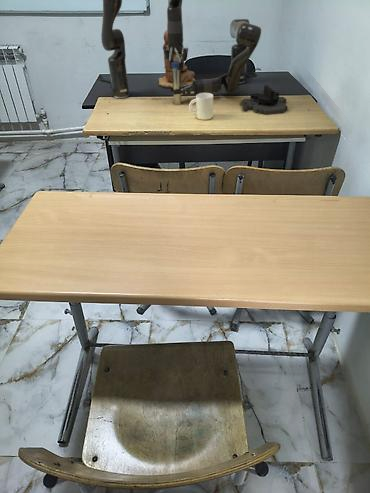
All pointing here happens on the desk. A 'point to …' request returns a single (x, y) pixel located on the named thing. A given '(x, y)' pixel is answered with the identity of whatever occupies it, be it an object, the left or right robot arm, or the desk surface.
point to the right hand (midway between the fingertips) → (172, 91)
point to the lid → (175, 64)
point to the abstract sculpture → (265, 102)
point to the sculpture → (168, 79)
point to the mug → (203, 106)
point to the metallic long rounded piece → (177, 85)
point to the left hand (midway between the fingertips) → (176, 69)
